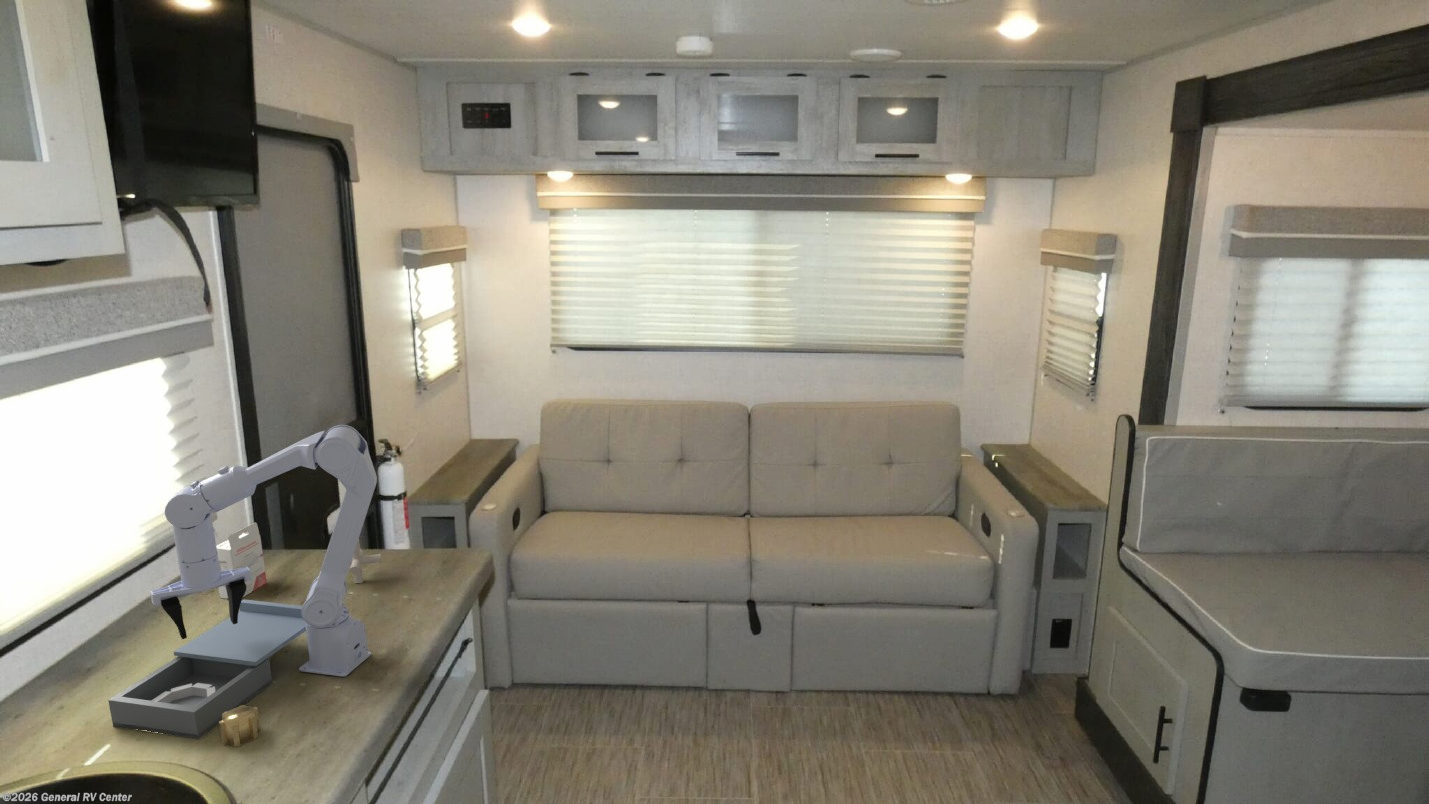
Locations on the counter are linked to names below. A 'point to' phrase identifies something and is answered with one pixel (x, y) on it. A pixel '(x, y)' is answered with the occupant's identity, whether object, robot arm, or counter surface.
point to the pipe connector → (361, 562)
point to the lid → (248, 634)
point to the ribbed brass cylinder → (239, 725)
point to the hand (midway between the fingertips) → (209, 629)
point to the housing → (188, 696)
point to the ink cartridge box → (243, 557)
